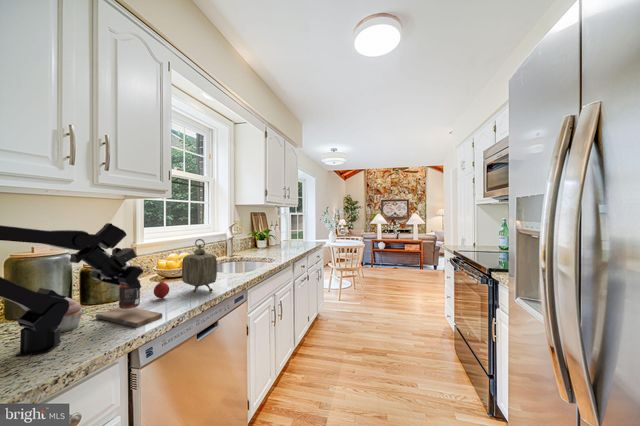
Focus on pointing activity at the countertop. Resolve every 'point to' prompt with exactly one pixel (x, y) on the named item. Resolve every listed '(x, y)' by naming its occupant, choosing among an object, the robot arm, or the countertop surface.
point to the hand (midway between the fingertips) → (134, 286)
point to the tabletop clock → (199, 268)
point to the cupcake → (71, 316)
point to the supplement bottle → (128, 297)
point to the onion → (161, 290)
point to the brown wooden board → (129, 316)
